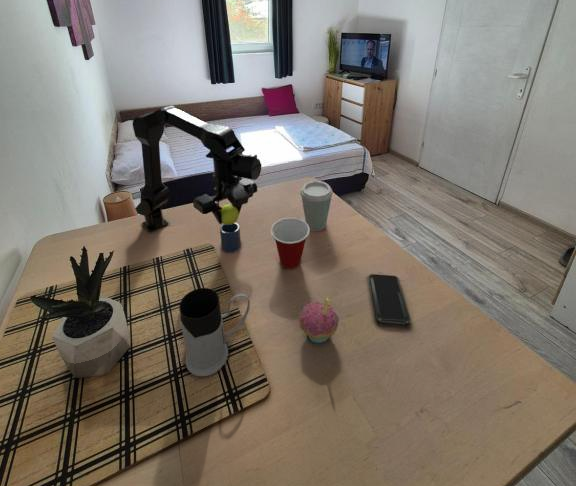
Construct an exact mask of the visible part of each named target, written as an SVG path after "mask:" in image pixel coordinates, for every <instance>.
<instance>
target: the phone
mask: <svg viewBox="0 0 576 486" xmlns="http://www.w3.org/2000/svg"><path fill="white" fill-rule="evenodd" d="M368 284H369V289H370V295H371V301H372V308H373V313H374V320H375V322H376V323H377V324H379V325H385V326H397V327H408V326H409V325H410V324H411V318H410V314H409V310H408V307H407V303H406V299H405V295H404V294H403V289H402V285H401V282H400V278H399V277H398V276H396V275H391V274H379V273H378V274H377V273H371V274H369V275H368Z"/></svg>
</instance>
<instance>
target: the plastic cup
mask: <svg viewBox="0 0 576 486" xmlns="http://www.w3.org/2000/svg"><path fill="white" fill-rule="evenodd" d="M310 230H311V229H310V228H309V226H308V224H307V223H306V220H303V219H300V218H298V217H292V216H291V217H289V216H288V217H283V218H280V219H279V220H276V221H275V222H274V223H273V224H272V225H271V228H270V233H271V236H272V238H273V239H274V241H275V245H276V249H277V254H278V257H279V262H280V265H281V266H282V267H283V268H285V269H290V270H292V269H295V268H298V267H299V266H300V264H301V261H302V257H303V253H304V248H305V244H306V241H307V238H308V236H309V235H310V232H311V231H310Z"/></svg>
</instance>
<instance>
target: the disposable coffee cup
mask: <svg viewBox="0 0 576 486" xmlns="http://www.w3.org/2000/svg"><path fill="white" fill-rule="evenodd" d="M299 194H300V197H301V202H302V207H303V215H304V218H305V220H304V221H305V222H306V223H307V224H308V226H309V228H310V230H311V231H314V232H320V231H322V230H324V229H325V228H326V226H327V222H328V218H329V212H330V206H331V201H332V197H333V194H334V192H333V189H332V188H331V185H329V183H327V182H324V181H322V180H312V181H311V180H310V181H307V182H306V183H304V184H303V185H302V187H301V189H300V192H299Z"/></svg>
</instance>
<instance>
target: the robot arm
mask: <svg viewBox="0 0 576 486" xmlns="http://www.w3.org/2000/svg"><path fill="white" fill-rule="evenodd" d="M165 124H168V125H170V126H172V127H174V128H176V129H178V130H180V131H182V132H184V133H186V134H188V135H190V136H192V137H194V138H196V139H198V140H199V141H200V142H201V144H202V145H203V147H205V148H206V149H208V150H209V152H208V153H206V154H205V157H206V158H207V159H212V162H213V174H212V176H211V177H212V180H214V183H215V187H213V192H215V195H213V196H209V195H208V194H206V193H204V194H202V195H199V196H197V197H194V199H192V200H193V201H192V204H193V208H194V209H196V210H197V211H198V212H200V213H201V214H202V215H207V214H210V213H212V214H213V216H214V218H215V219H216V221H217V223H218V224H219V225H223V223H222V217H221V210H222V209H223V208H222V207H223V206H220V203H221V202H222V201H225V200H228V202H229V204H230V205H233V206H234V207H236V208H237V210H238V212H239V214H240V213H241V209H242V207H243V205H247V204H248V202H249V199H250V198H252V197H253V196H254V194H255V193H258V185H257V183H256V182H255V181H256V180H258V179H259V177H260V176H261V172H262V163H261V159H259V158H258V155H257V154H255V153H245V151H246V149H245V147H244V146H243V144H242V143H241V141H240V140H239V139H238V137H237V135H236V134H235V131H234V130H233V129H232V128H231V127H228V126H224V125H221V124H211V123H208V122H205V121H204V120H201V119H199V118H197V117H195V116H193V115H192V114H189V113H187V112H185V111H182V110H180V109H178V108H177V107H176V106H175V105H171V104H169V105H165V106H163V107H159V108H158V109H156V110H155V111H152V112H149V113H146V114H144V115H140V116H136V117H135V118H134V119H133V120H132V130H133V132H134V136H135V138H136V139H137V140H138V141H139V143H140V144H141V153H142V164H143V165H142V167H143V176H144V186H143V188H142V190H141V192H140V202H139V203H138V205H136V206H135V208H134V210H135V211H136V214H137V215H141V216H143V217H144V221H143V222H141V225H142V226H143V227H144V228H145V229H146V230H147V231H148V232H150V233H151V232H153V231H156V230H158V229H160V228H163V227H165V226H167V225H169V222H168V221H167V220H166V219H164V215H163V209H162V207H164V206H166V205H167V203H168V201H169V198H171V195H170V187H169V186H166V185H165V184H164V183H163V181H162V167H161V166H162V165H161V152H160V151H161V150H160V141H161V139H162V137H163V136H164V133H165V132H164V130H165ZM231 148H232V149H231ZM229 149H231V150H229ZM227 150H229V151H227ZM239 178H243V179H239Z"/></svg>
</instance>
